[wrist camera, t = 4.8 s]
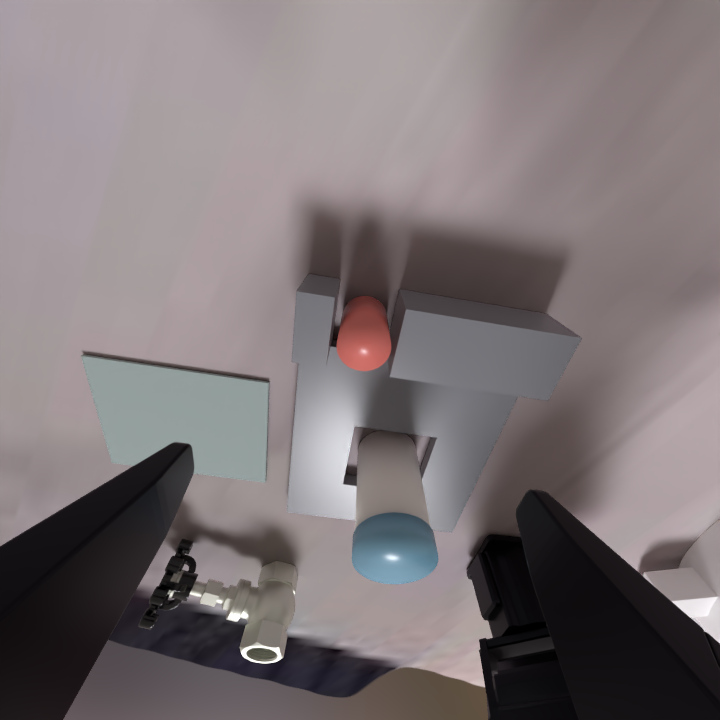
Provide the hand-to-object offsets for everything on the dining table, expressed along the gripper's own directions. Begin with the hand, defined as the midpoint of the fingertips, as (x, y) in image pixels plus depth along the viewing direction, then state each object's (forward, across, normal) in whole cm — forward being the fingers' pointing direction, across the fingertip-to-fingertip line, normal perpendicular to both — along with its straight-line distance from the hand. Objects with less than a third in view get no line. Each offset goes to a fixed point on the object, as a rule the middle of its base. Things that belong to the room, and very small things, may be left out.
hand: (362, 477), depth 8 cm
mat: (+12, +12, +10) cm, 20 cm away
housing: (+12, -3, +8) cm, 15 cm away
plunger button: (+12, 0, 0) cm, 12 cm away
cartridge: (+12, -3, +10) cm, 16 cm away
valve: (+12, +8, +27) cm, 31 cm away
